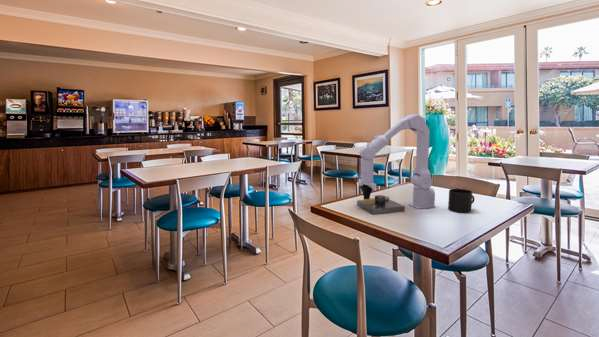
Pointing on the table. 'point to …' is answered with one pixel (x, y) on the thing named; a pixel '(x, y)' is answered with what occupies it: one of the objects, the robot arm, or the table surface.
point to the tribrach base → (381, 207)
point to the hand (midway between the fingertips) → (366, 200)
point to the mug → (460, 200)
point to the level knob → (376, 199)
